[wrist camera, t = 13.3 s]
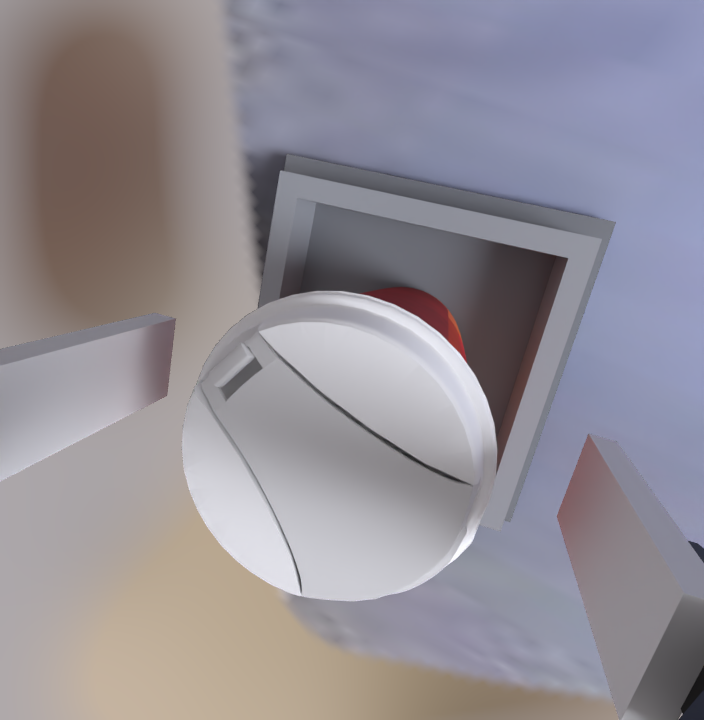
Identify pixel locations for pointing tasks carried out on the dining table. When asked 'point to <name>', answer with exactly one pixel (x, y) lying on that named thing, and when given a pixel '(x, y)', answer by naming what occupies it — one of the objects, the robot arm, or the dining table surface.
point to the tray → (450, 281)
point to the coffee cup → (341, 443)
